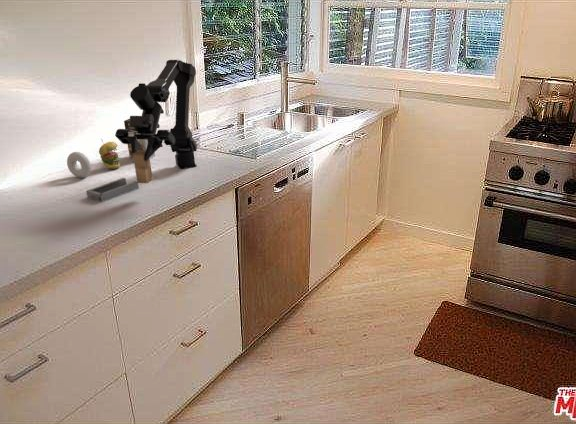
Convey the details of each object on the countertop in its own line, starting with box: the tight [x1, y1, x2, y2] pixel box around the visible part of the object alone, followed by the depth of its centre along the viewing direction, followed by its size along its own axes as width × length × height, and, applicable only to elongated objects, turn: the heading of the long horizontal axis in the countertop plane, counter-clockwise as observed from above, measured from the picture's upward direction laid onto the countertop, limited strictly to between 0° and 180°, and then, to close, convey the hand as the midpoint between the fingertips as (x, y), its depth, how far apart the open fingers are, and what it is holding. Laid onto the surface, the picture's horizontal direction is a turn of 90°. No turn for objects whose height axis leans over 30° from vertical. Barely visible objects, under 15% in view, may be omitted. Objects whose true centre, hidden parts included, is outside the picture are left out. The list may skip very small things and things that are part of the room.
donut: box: [66, 151, 92, 179], centre depth 186 cm, size 10×4×10 cm, turn 69°
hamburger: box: [98, 138, 121, 170], centre depth 195 cm, size 8×7×12 cm
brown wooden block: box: [133, 150, 154, 184], centre depth 162 cm, size 4×4×10 cm
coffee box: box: [123, 118, 156, 159], centre depth 206 cm, size 9×6×16 cm
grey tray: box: [86, 177, 140, 203], centre depth 171 cm, size 15×8×2 cm, turn 144°
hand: (139, 160), depth 160 cm, fingers closed on brown wooden block, 3 cm apart
